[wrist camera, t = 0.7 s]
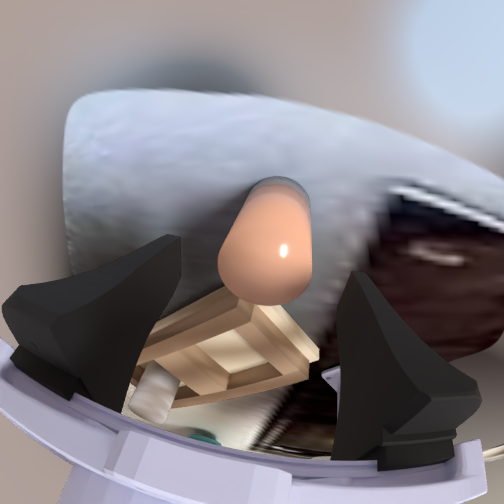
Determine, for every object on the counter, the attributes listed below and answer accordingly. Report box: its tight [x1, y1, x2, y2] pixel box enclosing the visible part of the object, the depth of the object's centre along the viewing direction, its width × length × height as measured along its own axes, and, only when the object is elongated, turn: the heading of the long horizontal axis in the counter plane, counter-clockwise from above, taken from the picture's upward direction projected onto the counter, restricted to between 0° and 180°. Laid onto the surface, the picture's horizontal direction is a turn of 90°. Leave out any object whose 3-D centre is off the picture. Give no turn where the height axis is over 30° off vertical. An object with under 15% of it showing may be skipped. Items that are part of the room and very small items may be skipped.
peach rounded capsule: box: [218, 176, 312, 306], centre depth 15 cm, size 4×4×7 cm
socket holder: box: [128, 285, 319, 424], centre depth 24 cm, size 10×21×7 cm, turn 128°
